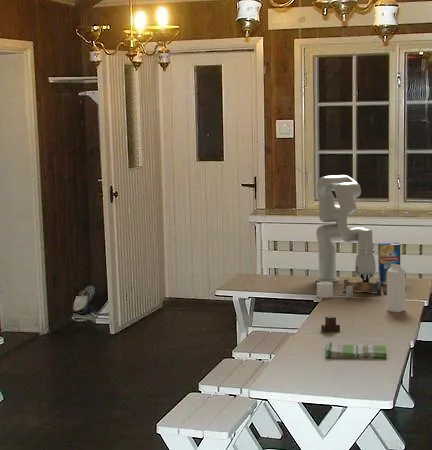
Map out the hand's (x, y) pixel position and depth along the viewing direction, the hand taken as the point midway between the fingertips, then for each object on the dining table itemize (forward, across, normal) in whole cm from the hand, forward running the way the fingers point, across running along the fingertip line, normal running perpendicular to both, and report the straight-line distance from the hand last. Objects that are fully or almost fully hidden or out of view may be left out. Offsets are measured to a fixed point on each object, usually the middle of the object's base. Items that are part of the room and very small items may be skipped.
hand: (365, 286), depth 441 cm
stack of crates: (+4, +55, +70) cm, 89 cm away
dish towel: (+4, +61, +104) cm, 120 cm away
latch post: (+2, +16, +11) cm, 19 cm away
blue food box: (+2, -21, -12) cm, 25 cm away
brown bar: (+2, +4, +1) cm, 4 cm away
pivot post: (+2, -3, +9) cm, 10 cm away
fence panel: (+2, -10, +9) cm, 14 cm away
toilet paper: (+3, +23, 0) cm, 23 cm away
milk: (+3, +10, +46) cm, 48 cm away
